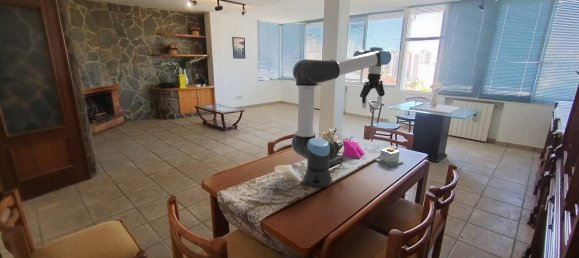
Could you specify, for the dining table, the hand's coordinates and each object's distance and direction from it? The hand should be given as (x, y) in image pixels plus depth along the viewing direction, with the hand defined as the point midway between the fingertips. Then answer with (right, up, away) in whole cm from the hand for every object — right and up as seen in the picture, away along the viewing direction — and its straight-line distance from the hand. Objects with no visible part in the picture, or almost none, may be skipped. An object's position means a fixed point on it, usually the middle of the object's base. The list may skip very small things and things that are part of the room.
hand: (371, 107), depth 171 cm
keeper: (+12, -36, +2) cm, 38 cm away
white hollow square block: (+12, -35, +2) cm, 37 cm away
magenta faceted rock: (-8, -32, +15) cm, 36 cm away
